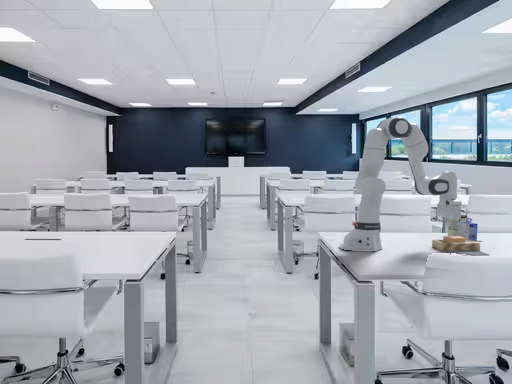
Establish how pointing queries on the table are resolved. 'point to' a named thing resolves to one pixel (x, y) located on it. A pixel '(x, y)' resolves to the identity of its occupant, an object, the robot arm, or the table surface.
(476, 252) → the mat
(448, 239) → the block
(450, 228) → the coffee can
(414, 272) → the table surface
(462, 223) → the ink cartridge box
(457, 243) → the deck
